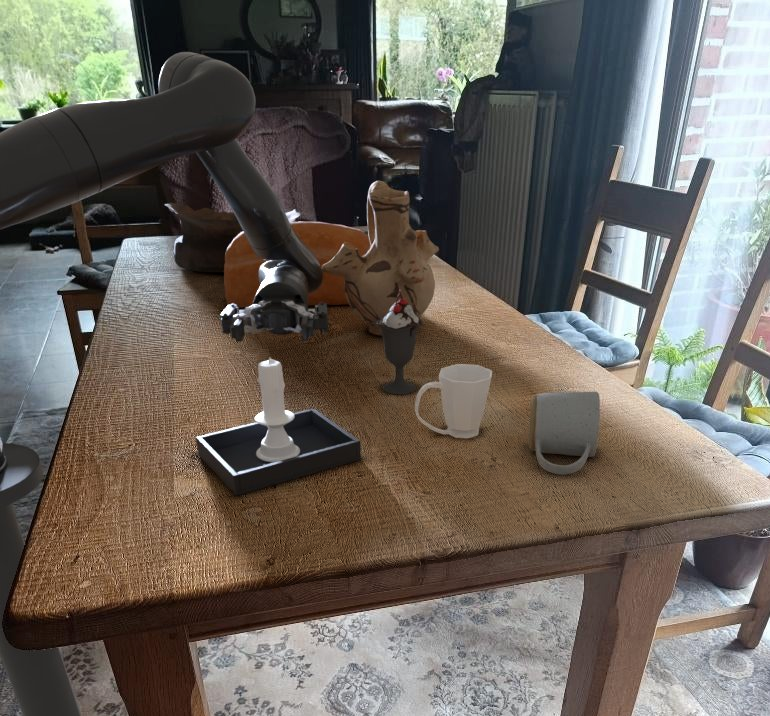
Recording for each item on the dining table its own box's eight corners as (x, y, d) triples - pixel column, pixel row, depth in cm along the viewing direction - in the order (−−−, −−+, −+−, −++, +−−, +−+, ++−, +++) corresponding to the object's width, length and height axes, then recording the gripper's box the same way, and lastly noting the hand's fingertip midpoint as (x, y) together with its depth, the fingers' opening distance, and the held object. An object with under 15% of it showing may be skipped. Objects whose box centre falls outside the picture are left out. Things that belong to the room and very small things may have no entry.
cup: (497, 440, 90) (502, 379, 86) (421, 447, 89) (422, 386, 85) (480, 418, 96) (483, 361, 92) (408, 425, 95) (408, 367, 90)
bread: (231, 293, 157) (222, 218, 149) (379, 289, 158) (378, 215, 150) (223, 310, 145) (213, 229, 137) (383, 305, 147) (382, 225, 139)
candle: (263, 442, 89) (253, 350, 83) (304, 444, 89) (297, 351, 82) (250, 461, 85) (239, 365, 79) (294, 464, 84) (286, 367, 78)
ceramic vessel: (324, 339, 127) (316, 187, 114) (363, 312, 143) (360, 175, 130) (420, 350, 122) (423, 192, 109) (450, 320, 137) (456, 178, 124)
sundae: (393, 400, 102) (393, 295, 95) (369, 386, 107) (366, 285, 99) (430, 390, 105) (433, 288, 98) (404, 377, 110) (405, 279, 102)
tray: (236, 496, 79) (233, 476, 77) (198, 455, 88) (195, 436, 86) (361, 459, 86) (360, 440, 85) (314, 425, 95) (313, 408, 94)
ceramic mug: (526, 435, 91) (531, 379, 87) (591, 440, 90) (600, 382, 86) (525, 475, 82) (531, 414, 78) (597, 480, 81) (607, 419, 77)
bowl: (191, 258, 198) (186, 200, 191) (309, 264, 197) (309, 206, 191) (149, 275, 167) (143, 205, 160) (290, 282, 166) (289, 213, 160)
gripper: (230, 276, 102) (211, 305, 88) (329, 274, 103) (325, 303, 89) (236, 327, 106) (218, 363, 92) (331, 326, 107) (328, 361, 93)
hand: (271, 333), depth 91 cm, fingers open, 8 cm apart
